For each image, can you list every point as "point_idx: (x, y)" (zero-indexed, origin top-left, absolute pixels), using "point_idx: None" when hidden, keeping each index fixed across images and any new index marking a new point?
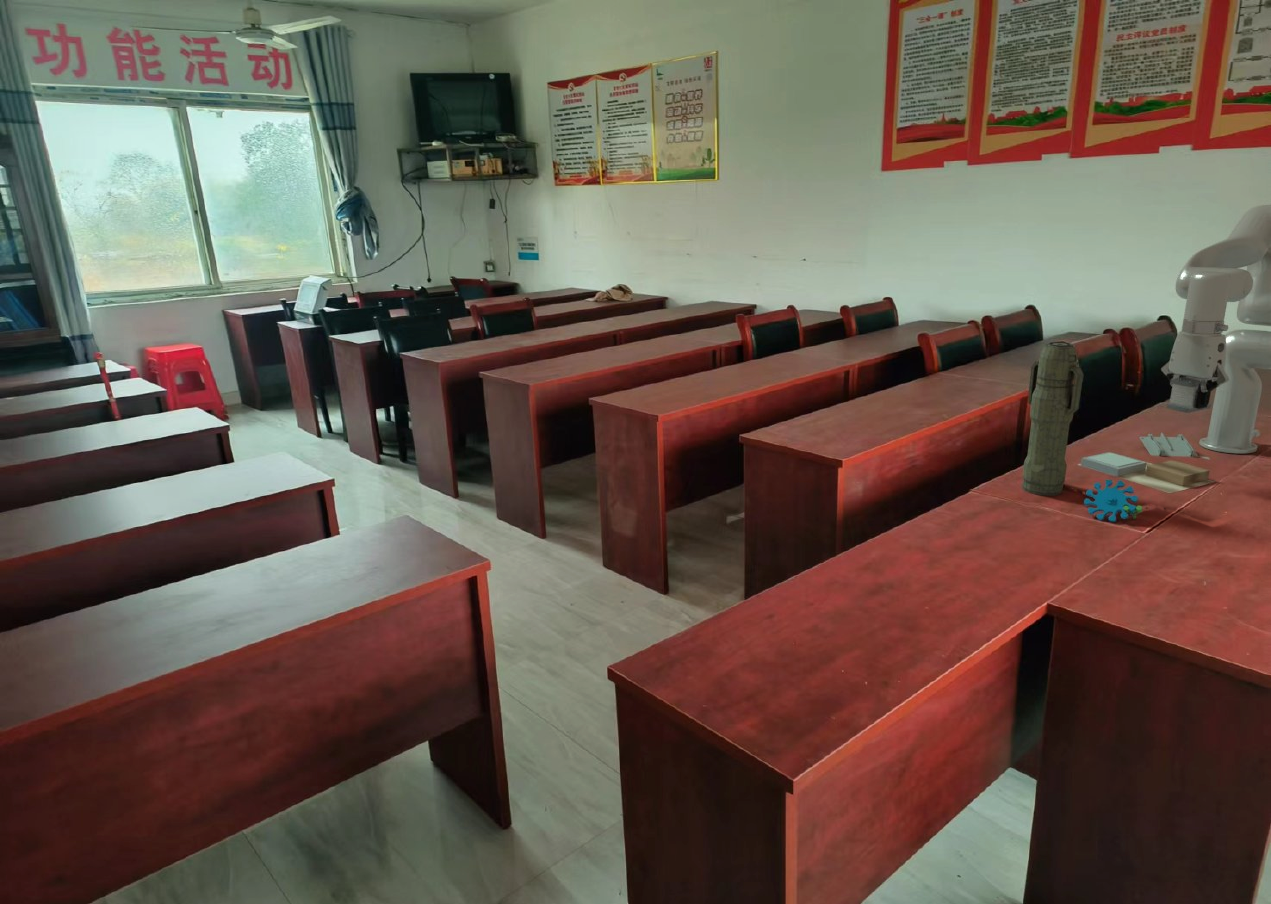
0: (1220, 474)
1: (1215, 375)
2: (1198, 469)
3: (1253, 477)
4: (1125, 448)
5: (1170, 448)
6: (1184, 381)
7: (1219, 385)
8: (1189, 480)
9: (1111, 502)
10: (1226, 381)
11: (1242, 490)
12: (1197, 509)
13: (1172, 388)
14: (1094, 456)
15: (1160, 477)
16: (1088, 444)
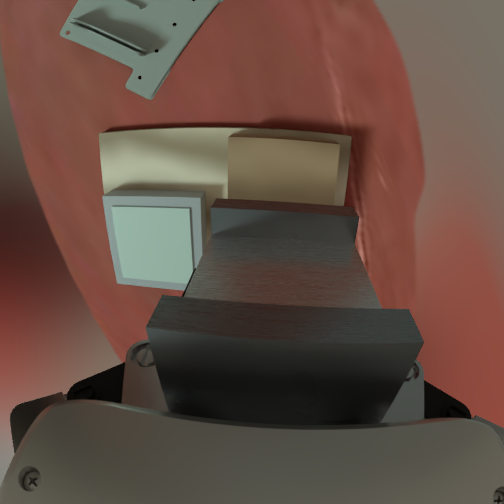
0: (306, 36)
1: (439, 427)
2: (319, 161)
3: (361, 3)
4: (63, 59)
5: (136, 7)
6: None
7: (460, 405)
8: None
9: None
10: (501, 437)
11: (399, 119)
12: (387, 299)
13: None
14: (120, 260)
15: None
16: (20, 112)
